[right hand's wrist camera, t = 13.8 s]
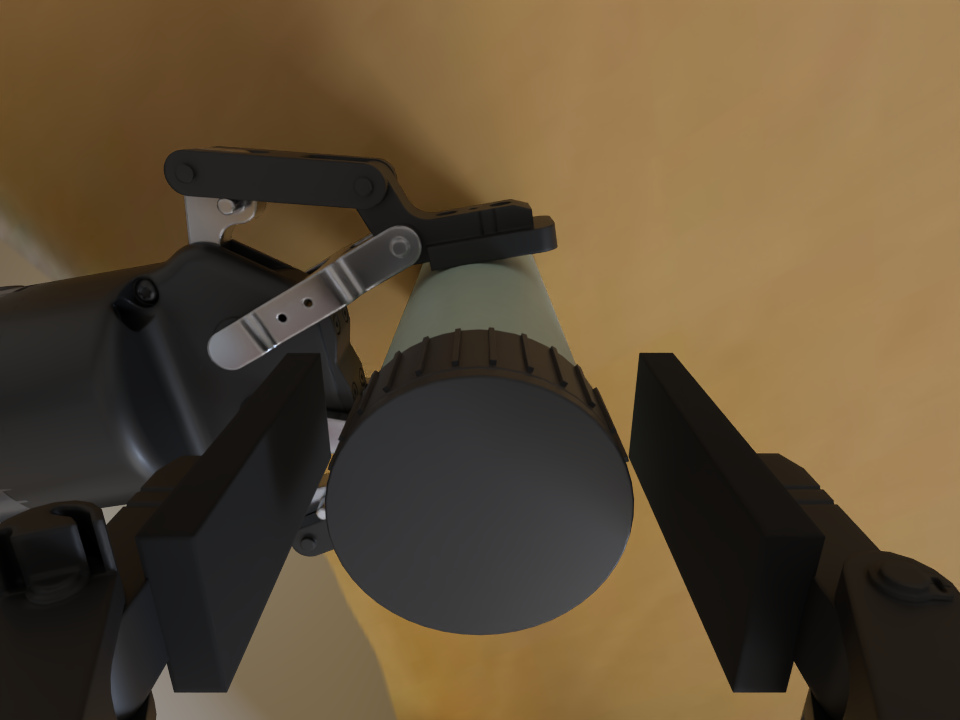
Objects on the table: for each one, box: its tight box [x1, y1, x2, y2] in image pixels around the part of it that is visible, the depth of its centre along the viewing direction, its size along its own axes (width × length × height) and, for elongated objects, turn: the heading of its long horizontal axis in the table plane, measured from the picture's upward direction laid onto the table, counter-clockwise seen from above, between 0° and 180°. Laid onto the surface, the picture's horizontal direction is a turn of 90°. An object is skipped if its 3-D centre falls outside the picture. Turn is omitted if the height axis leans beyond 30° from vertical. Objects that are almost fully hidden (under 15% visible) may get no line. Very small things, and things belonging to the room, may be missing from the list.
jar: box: [381, 254, 576, 369], centre depth 18 cm, size 5×5×16 cm
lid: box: [325, 327, 634, 635], centre depth 11 cm, size 5×5×2 cm
